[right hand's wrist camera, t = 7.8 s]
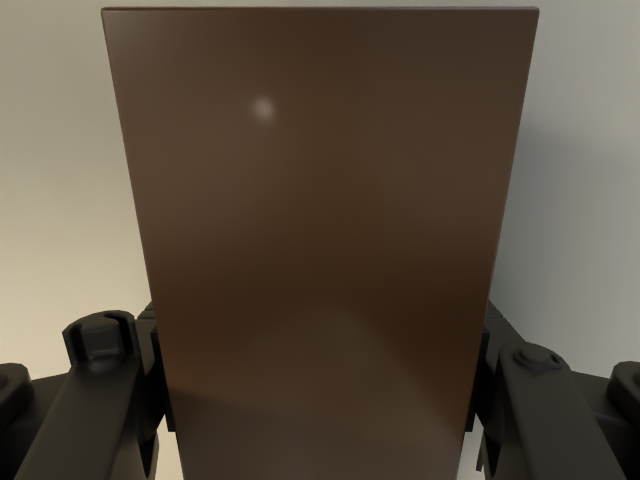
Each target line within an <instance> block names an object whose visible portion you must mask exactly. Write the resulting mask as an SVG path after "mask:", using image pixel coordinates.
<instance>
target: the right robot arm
mask: <svg viewBox="0 0 640 480" xmlns="http://www.w3.org/2000/svg"><path fill="white" fill-rule="evenodd" d="M62 334H63V338H64V342H65V345H66V349H67V352H68V356H69V359H70V363H71V368H70V370H69V372H68V373H65V374H60V375H55V376H50V377H46V378H41V379H36V380H31V379H30V376H29V373H28V370H27V368H26V367H25V366H23V365H22V364H17V363H6V364H0V480H155V474H156V467H157V459H158V452H159V440H158V434H157V428H158V426H159V424H160V422H161V420H162V418H163V416H164V414H165V417H166V422H167V428H168V432H175V428H174V422H173V416H172V411H171V405H170V400H169V394H168V388H167V383H166V377H165V371H164V366H163V360H162V355H161V349H160V343H159V338H158V332H157V326H156V321H155V315H154V310H153V304H152V301H151V302H150V303H149V304H148V306H147V307H146V308H145V311H142V313H141V314H140V315H139V316H138V318H137V319H136V320H135V319H134V316H133V315H132V314H130V313H129V312H126V311H121V310H111V311H103V312H98V313H93V314H91V315H88V316H85V317H83V318H80V319H78V320H77V321H75V322H73V323H72V324H70V325H68V327H67V328H66V329H65V330H64V331H63V332H62ZM475 413H476V414H477V416H478V418H479V420H480V422H481V424H482V426H483V427H484V429H483V434H482V439H481V444H480V449H479V454H478V459H477V466H476V471H480V472H481V470H482V465H483V466H484V473H485V480H640V362H633V361H627V362H619V363H618V364H617V365H615V366H614V368H613V371H612V374H611V377H610V379H608V378H603V377H598V376H593V375H588V374H583V373H578V372H574V371H571V369H570V368H569V366H568V364H567V363H566V362H565V361H564V360H563V358H562V357H560V356H559V355H557V354H556V353H554V352H553V351H551V350H549V349H547V348H545V347H542V346H540V345H537V344H533V343H529V342H525V341H524V339H523V338H522V337H521V336H520V335H519V334H518V333H517V331H516V330H515V329H514V328H513V327H512V326H511V324H510V323H509V322H508V321H507V320H506V319H505V318H503V315H502V314H501V313H500V312H499V311H498V310H496V307H495V306H494V305H493V304H492V303H491V301H490V300H489V299H488V305H487V311H486V316H485V322H484V328H483V333H482V339H481V344H480V350H479V356H478V361H477V367H476V373H475V378H474V384H473V390H472V395H471V401H470V406H469V412H468V418H467V423H466V429H465V432H472V429H473V424H474V419H475Z"/></svg>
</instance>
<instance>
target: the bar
mask: <svg viewBox="0 0 640 480" xmlns="http://www.w3.org/2000/svg"><path fill="white" fill-rule="evenodd" d="M101 17H102V23H103V28H104V34H105V39H106V45H107V51H108V56H109V62H110V68H111V73H112V79H113V85H114V90H115V96H116V101H117V107H118V113H119V118H120V124H121V130H122V135H123V141H124V146H125V152H126V158H127V163H128V169H129V175H130V180H131V186H132V191H133V197H134V203H135V208H136V214H137V220H138V225H139V231H140V236H141V242H142V248H143V253H144V259H145V265H146V270H147V276H148V281H149V287H150V293H151V298H152V304H153V310H154V315H155V321H156V326H157V332H158V338H159V343H160V349H161V355H162V360H163V366H164V371H165V377H166V383H167V388H168V394H169V400H170V405H171V411H172V416H173V422H174V428H175V433H176V439H177V445H178V450H179V456H180V461H181V467H182V473H183V478H184V480H457V474H458V468H459V463H460V457H461V451H462V446H463V440H464V435H465V429H466V423H467V418H468V412H469V406H470V401H471V395H472V390H473V384H474V378H475V373H476V367H477V361H478V356H479V350H480V344H481V339H482V333H483V328H484V322H485V316H486V311H487V305H488V299H489V294H490V288H491V283H492V277H493V271H494V266H495V260H496V254H497V249H498V243H499V237H500V232H501V226H502V221H503V215H504V209H505V204H506V198H507V192H508V187H509V181H510V176H511V170H512V164H513V159H514V153H515V147H516V142H517V136H518V130H519V125H520V119H521V114H522V108H523V102H524V97H525V91H526V85H527V80H528V74H529V69H530V63H531V57H532V52H533V46H534V40H535V35H536V29H537V23H538V18H539V8H537V7H104V8H102V9H101Z"/></svg>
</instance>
